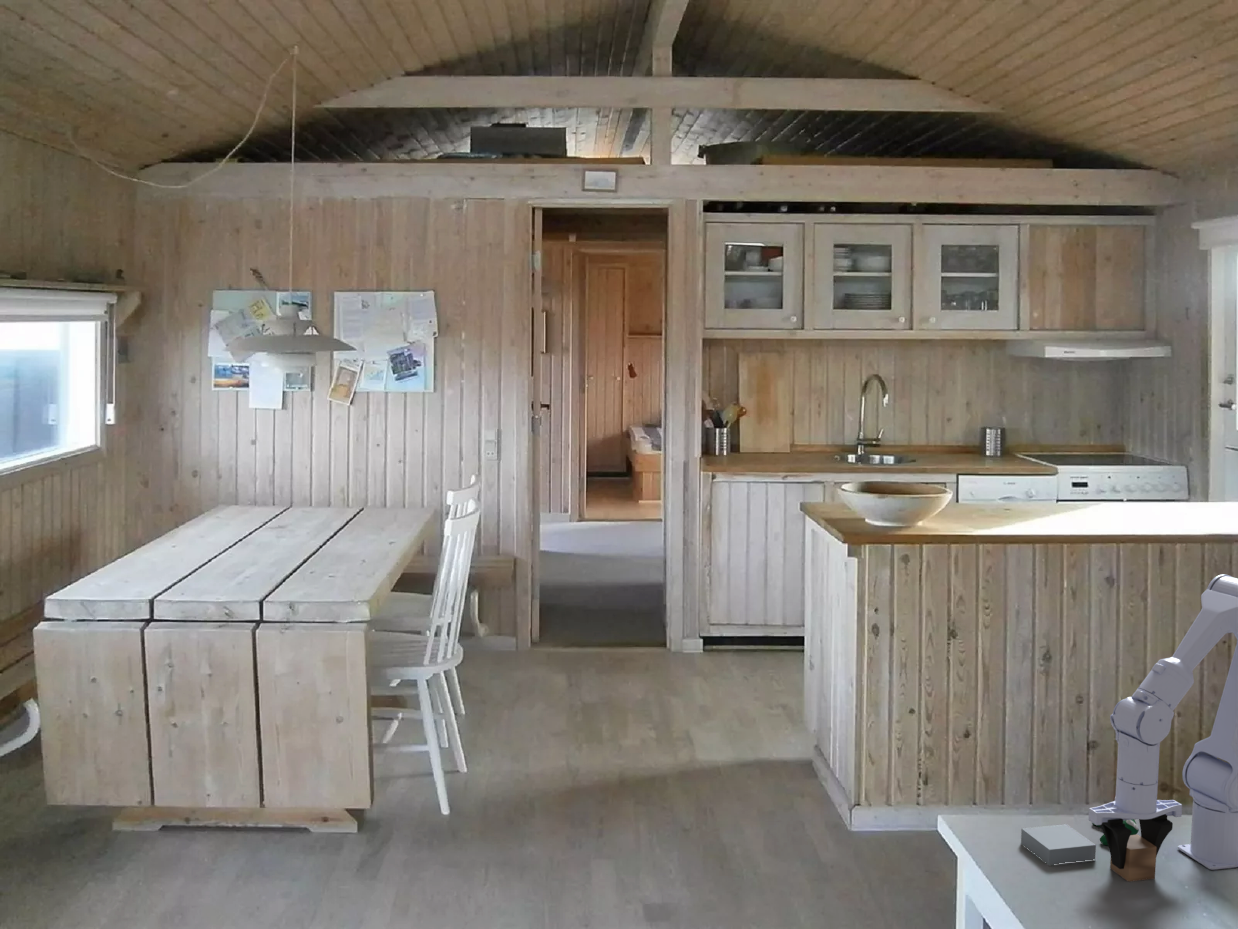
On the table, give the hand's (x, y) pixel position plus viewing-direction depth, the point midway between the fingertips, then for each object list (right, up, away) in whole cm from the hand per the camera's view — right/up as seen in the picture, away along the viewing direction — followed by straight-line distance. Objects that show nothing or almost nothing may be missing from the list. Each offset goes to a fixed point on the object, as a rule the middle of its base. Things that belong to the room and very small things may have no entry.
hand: (1132, 864), depth 182 cm
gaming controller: (+3, 0, +14) cm, 14 cm away
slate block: (-9, -1, +8) cm, 12 cm away
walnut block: (0, -1, 0) cm, 1 cm away
